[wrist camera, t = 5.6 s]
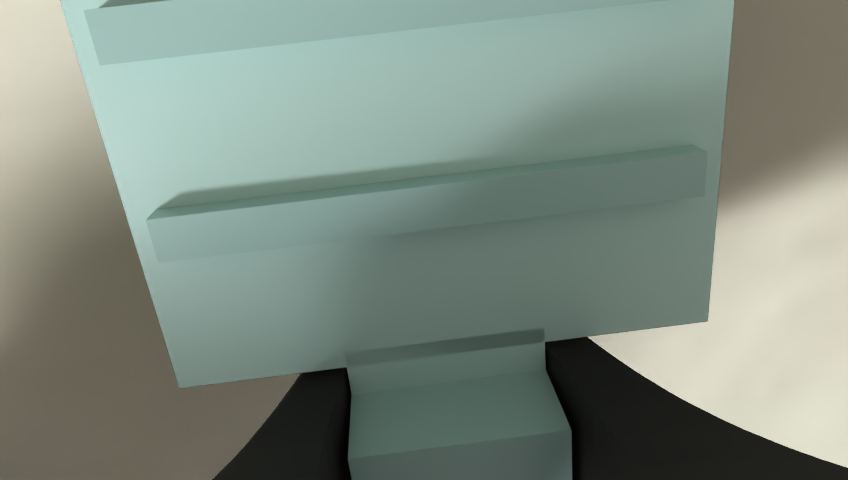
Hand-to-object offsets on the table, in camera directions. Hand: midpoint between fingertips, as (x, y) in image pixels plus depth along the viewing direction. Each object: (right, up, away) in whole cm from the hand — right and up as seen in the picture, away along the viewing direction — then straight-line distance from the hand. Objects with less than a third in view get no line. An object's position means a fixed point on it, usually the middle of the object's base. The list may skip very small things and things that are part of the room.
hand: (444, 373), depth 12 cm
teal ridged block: (-1, +6, 0) cm, 6 cm away
